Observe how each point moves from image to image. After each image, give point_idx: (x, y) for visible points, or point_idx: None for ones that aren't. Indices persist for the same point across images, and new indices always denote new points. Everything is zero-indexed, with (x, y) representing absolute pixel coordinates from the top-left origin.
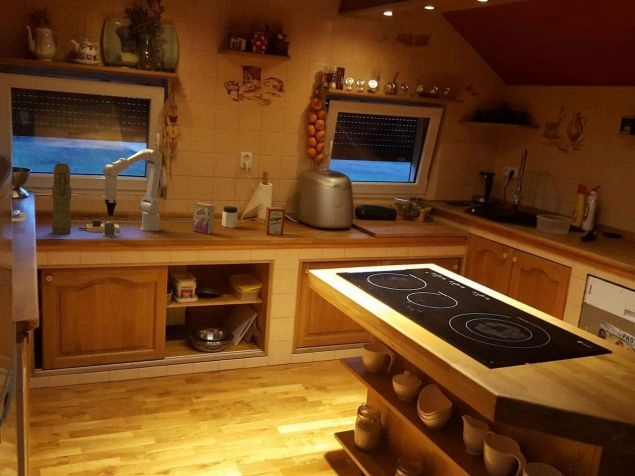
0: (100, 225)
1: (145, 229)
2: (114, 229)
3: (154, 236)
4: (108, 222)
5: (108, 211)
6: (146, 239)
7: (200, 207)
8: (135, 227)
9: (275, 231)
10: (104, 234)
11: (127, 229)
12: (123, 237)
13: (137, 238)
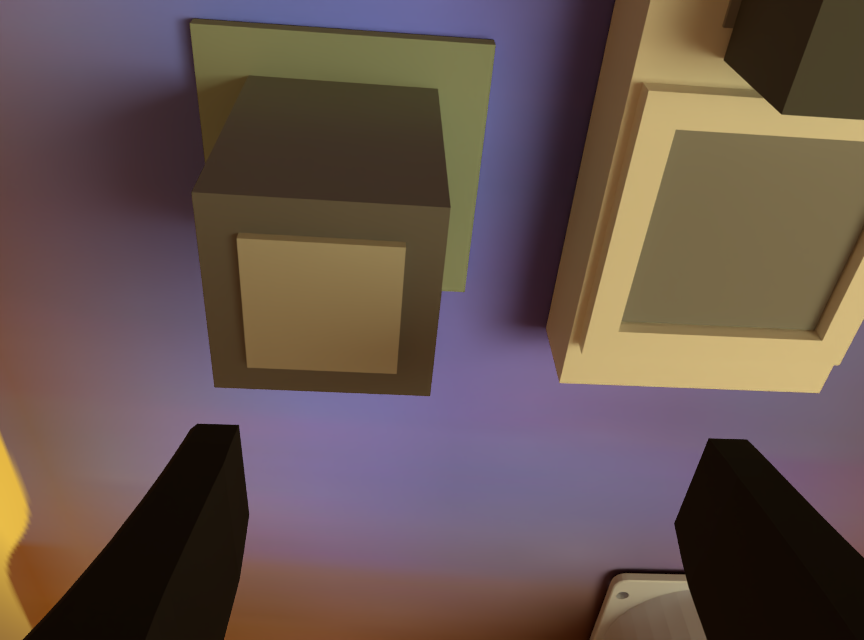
0: (733, 62)
1: (623, 610)
2: (569, 294)
3: (281, 634)
4: (282, 284)
5: (120, 547)
6: (87, 564)
7: None
8: (843, 532)
9: None
10: (281, 71)
11: None
12: (150, 350)
13: (123, 493)
